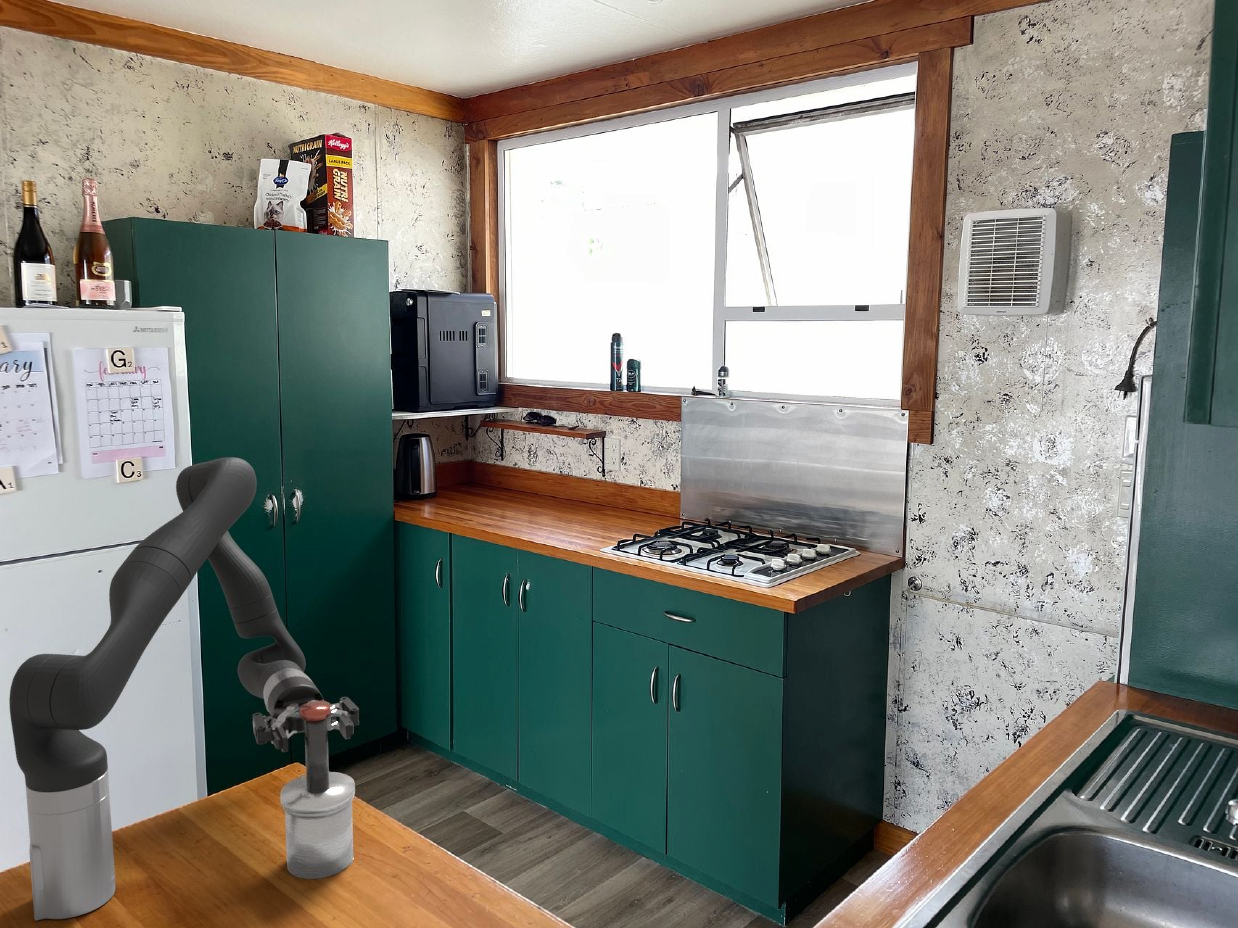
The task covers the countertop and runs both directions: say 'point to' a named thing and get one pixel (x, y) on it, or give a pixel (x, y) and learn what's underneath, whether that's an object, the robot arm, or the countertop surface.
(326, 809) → the lid
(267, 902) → the countertop surface
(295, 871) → the pot
